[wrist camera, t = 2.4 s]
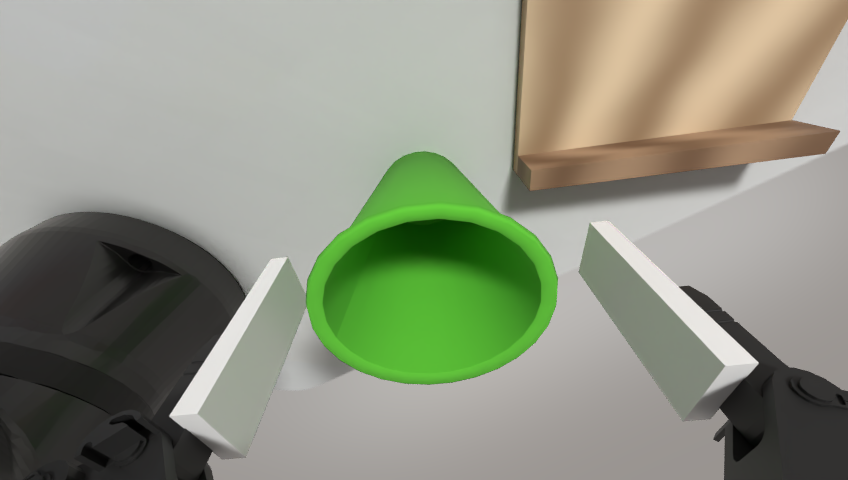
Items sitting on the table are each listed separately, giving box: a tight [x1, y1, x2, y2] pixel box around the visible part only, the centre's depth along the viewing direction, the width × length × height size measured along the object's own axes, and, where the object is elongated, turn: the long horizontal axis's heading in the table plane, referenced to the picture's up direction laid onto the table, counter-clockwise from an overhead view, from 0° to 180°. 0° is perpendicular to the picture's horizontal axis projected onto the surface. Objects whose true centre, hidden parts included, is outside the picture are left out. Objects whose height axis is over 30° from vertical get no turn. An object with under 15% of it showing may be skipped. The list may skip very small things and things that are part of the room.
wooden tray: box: [513, 0, 848, 191], centre depth 14 cm, size 16×14×3 cm
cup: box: [306, 152, 558, 385], centre depth 15 cm, size 9×9×11 cm
